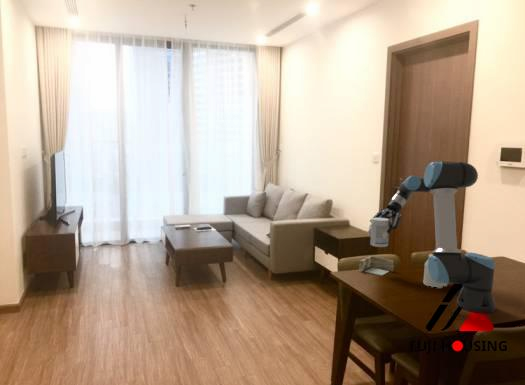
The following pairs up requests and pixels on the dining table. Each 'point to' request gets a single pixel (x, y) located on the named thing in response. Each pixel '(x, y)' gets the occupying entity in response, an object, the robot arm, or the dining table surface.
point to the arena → (376, 263)
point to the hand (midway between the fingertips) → (375, 235)
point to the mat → (377, 271)
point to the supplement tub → (379, 232)
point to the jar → (428, 278)
